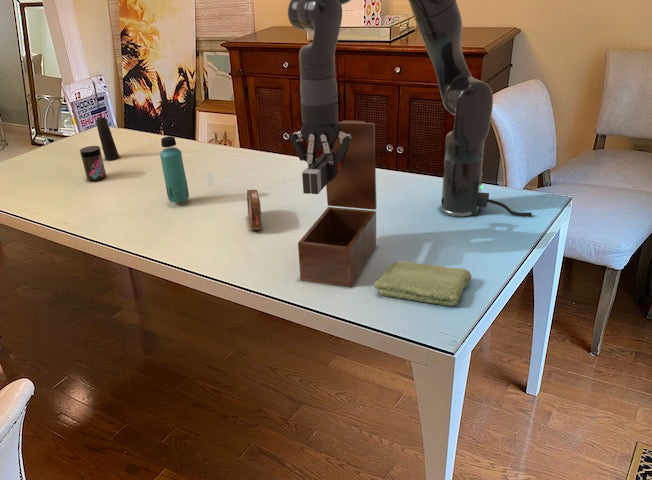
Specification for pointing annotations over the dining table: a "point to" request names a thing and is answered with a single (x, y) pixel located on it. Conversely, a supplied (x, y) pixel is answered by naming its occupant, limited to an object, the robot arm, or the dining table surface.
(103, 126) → the butter churn
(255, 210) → the tin
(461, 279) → the washcloth
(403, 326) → the dining table surface
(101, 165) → the supplement container
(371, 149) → the lid
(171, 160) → the beverage bottle
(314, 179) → the dark grey long block
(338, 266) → the chest
